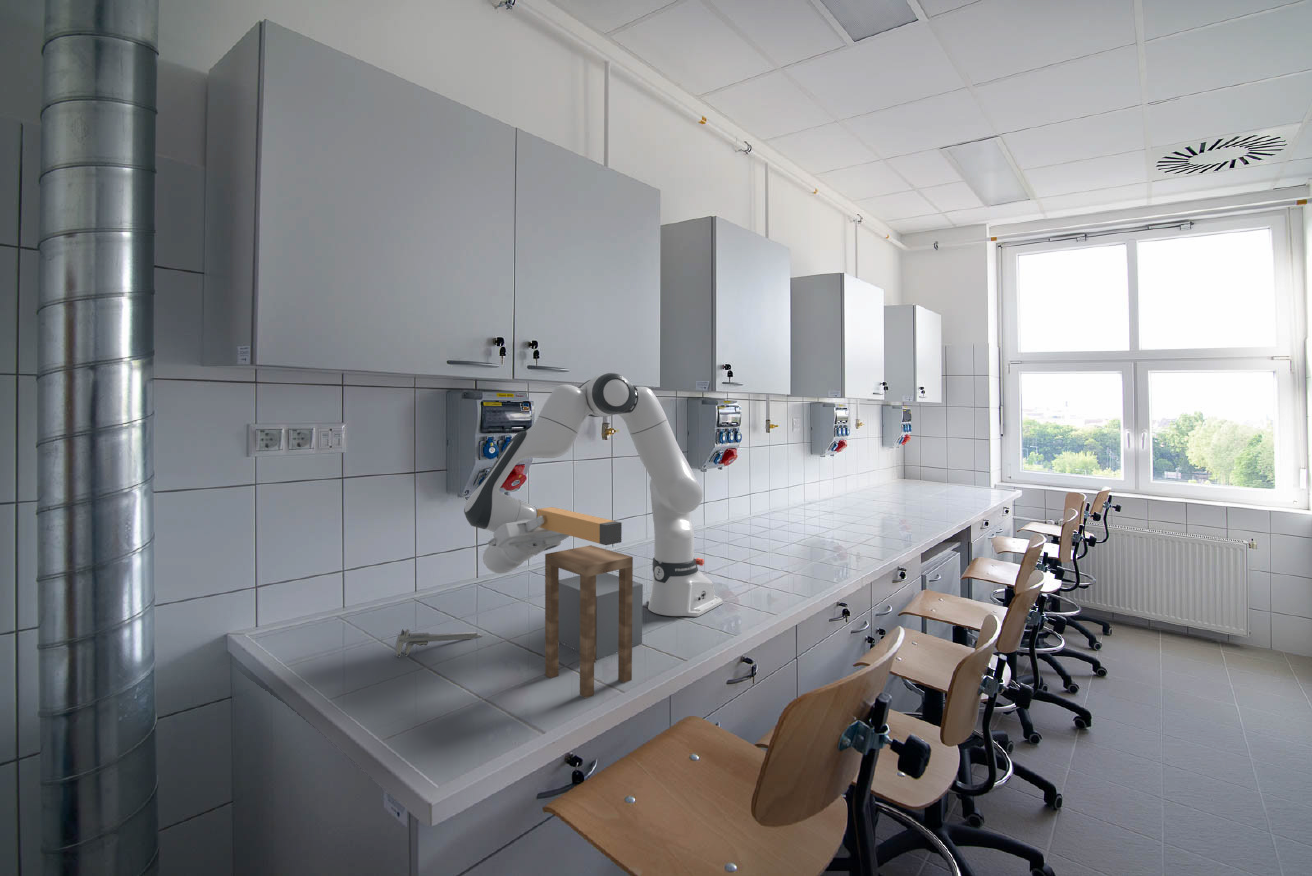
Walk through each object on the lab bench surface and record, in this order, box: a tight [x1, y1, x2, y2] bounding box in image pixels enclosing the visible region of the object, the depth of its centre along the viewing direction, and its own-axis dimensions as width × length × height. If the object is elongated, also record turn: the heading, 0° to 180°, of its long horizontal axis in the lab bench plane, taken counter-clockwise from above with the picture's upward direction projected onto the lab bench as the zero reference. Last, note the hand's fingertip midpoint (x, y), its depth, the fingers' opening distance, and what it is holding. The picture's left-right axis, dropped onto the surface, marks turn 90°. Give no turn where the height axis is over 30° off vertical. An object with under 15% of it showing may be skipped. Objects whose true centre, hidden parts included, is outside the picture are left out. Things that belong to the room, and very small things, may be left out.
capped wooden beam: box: [536, 506, 623, 546], centre depth 134 cm, size 4×24×4 cm, turn 44°
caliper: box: [395, 628, 483, 658], centre depth 149 cm, size 20×1×6 cm, turn 131°
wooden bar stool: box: [544, 544, 634, 699], centre depth 132 cm, size 12×14×26 cm
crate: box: [559, 572, 644, 661], centre depth 152 cm, size 14×16×14 cm
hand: (554, 517), depth 140 cm, fingers closed on capped wooden beam, 4 cm apart
